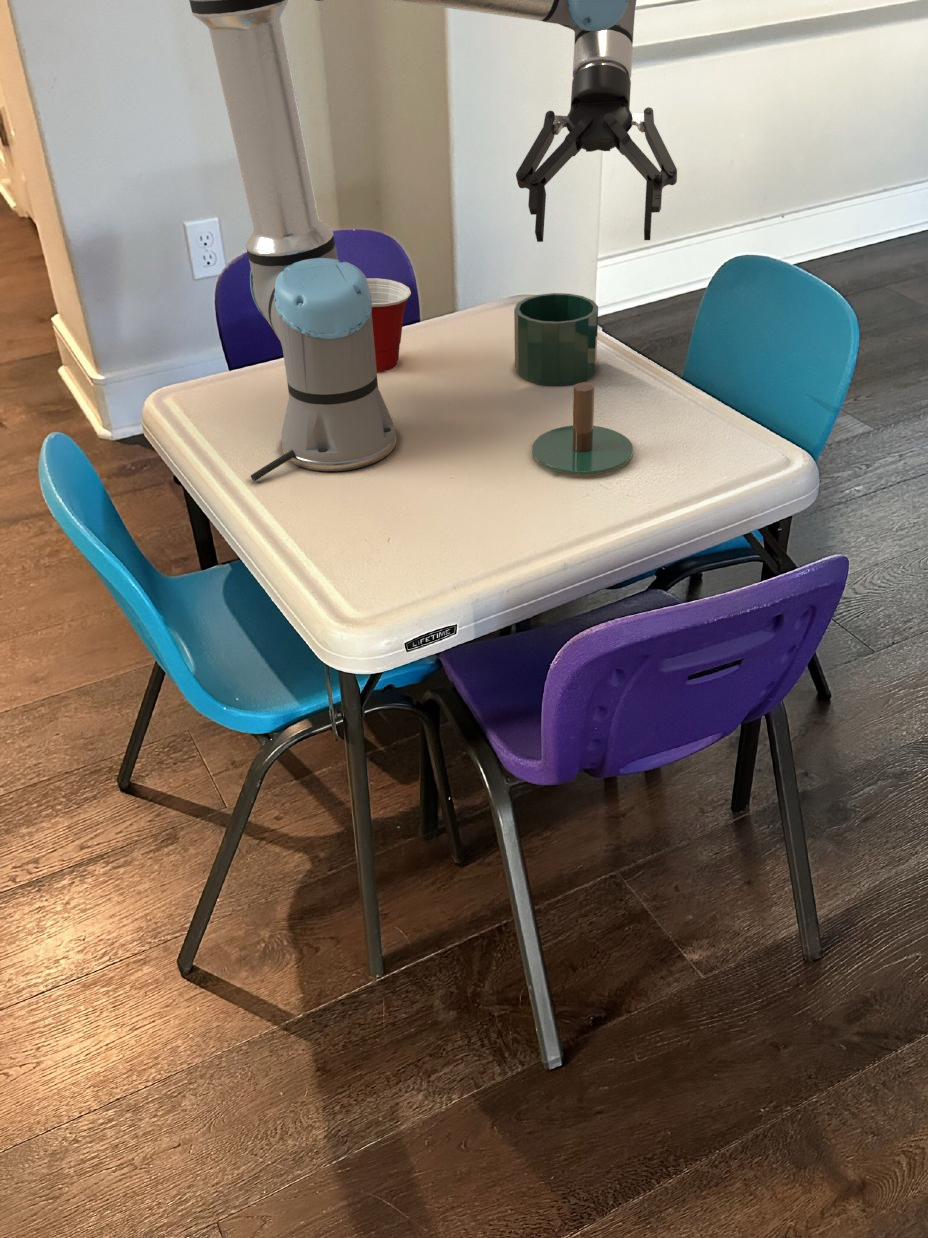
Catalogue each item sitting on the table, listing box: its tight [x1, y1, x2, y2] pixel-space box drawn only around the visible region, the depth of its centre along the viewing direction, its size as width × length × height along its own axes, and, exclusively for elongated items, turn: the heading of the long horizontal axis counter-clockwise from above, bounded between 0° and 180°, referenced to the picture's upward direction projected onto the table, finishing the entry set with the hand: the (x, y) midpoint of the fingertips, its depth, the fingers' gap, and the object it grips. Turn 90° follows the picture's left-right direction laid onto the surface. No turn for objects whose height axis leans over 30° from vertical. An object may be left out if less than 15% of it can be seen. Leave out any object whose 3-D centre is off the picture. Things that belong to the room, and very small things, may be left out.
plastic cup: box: [366, 277, 412, 373], centre depth 170 cm, size 11×11×12 cm
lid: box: [531, 382, 634, 476], centre depth 144 cm, size 13×13×10 cm
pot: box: [513, 292, 599, 387], centre depth 167 cm, size 12×12×10 cm
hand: (592, 236), depth 142 cm, fingers open, 13 cm apart
